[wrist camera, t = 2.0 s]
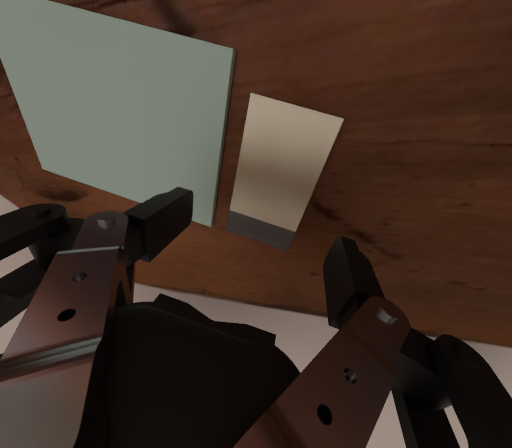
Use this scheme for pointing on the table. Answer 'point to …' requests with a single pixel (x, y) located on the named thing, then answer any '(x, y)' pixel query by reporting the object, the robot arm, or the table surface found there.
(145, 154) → the rubber mat
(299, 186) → the cream rectangular block
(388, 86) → the table surface
